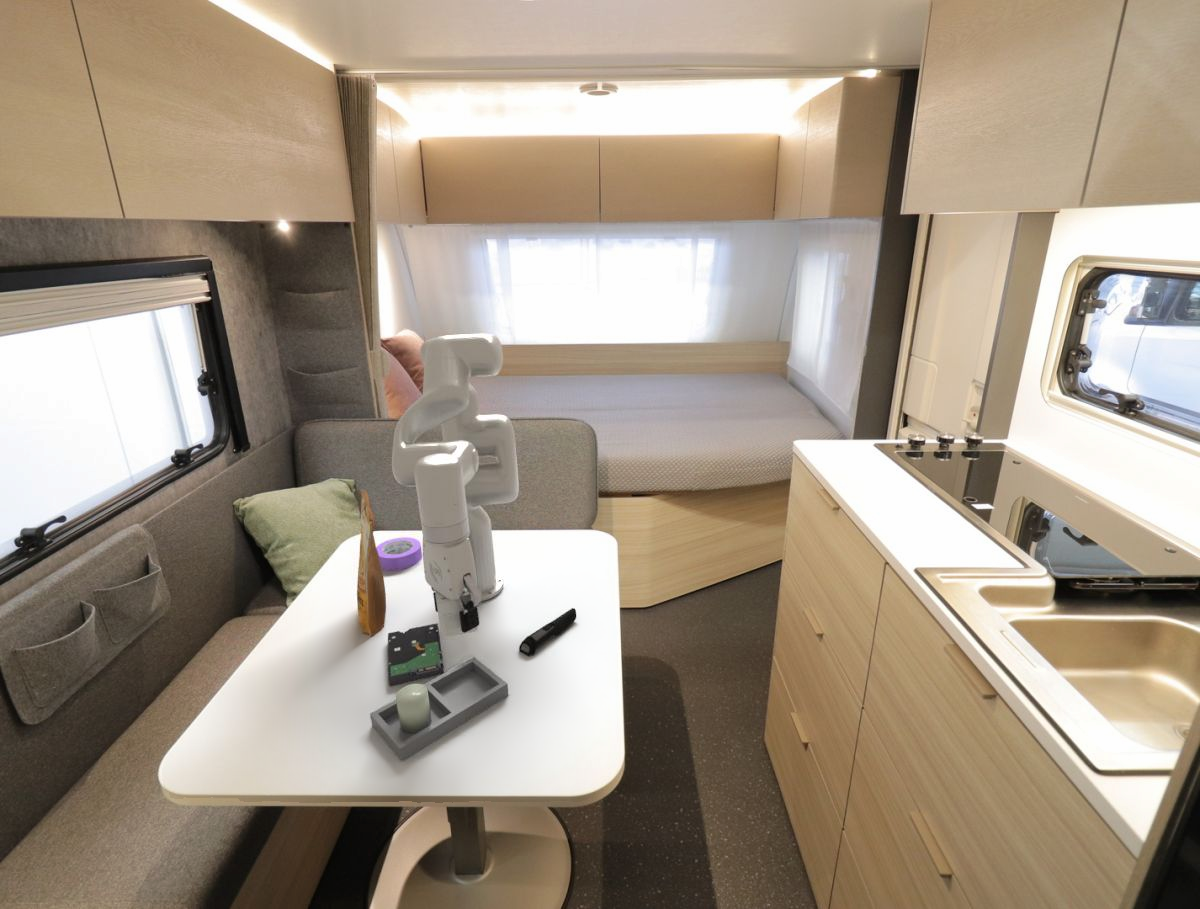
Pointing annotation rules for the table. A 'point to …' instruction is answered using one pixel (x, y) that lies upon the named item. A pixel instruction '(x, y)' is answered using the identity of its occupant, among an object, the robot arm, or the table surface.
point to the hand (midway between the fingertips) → (457, 618)
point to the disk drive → (414, 654)
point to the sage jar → (413, 708)
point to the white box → (450, 615)
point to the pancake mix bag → (370, 576)
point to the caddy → (443, 706)
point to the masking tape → (401, 560)
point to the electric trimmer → (547, 632)
